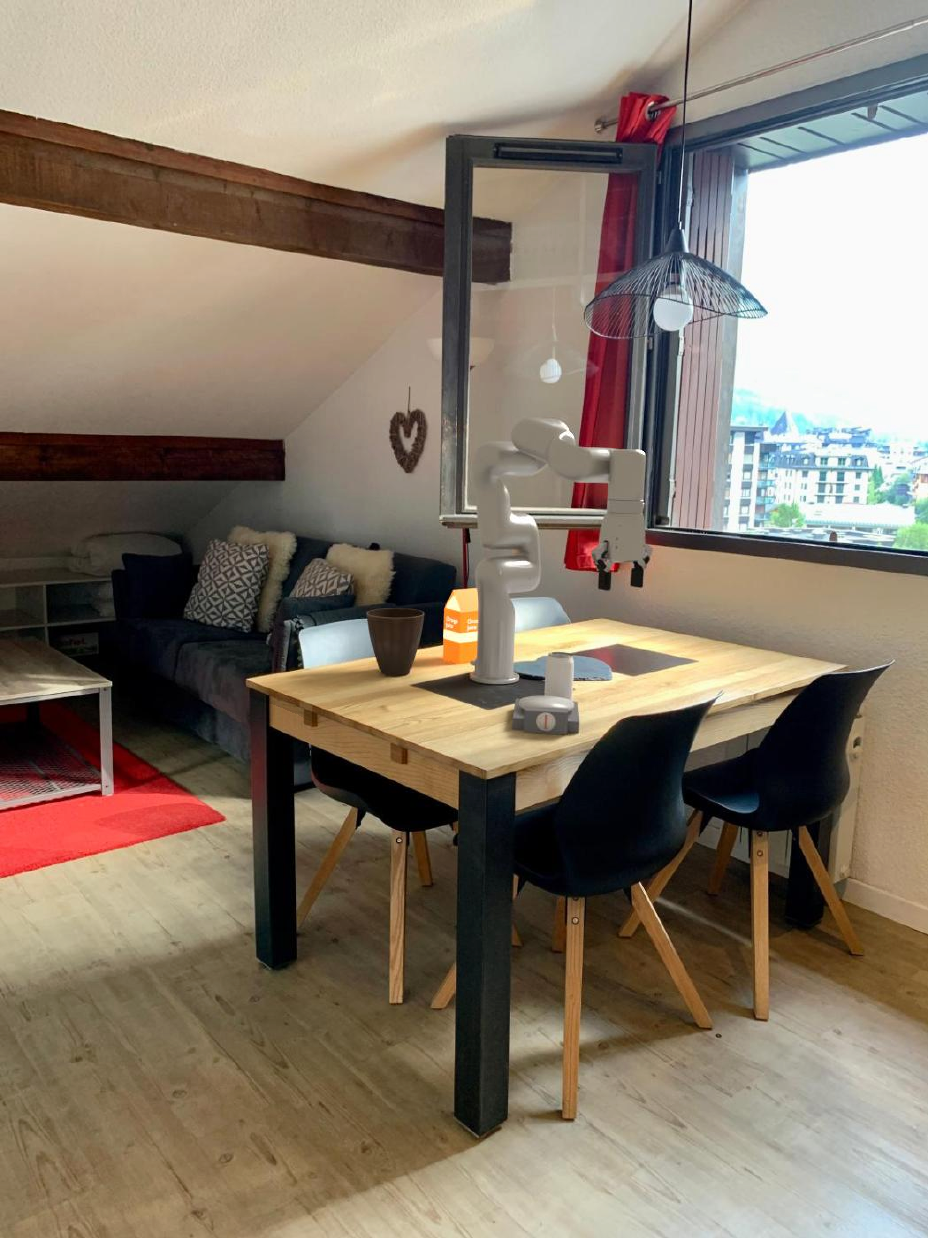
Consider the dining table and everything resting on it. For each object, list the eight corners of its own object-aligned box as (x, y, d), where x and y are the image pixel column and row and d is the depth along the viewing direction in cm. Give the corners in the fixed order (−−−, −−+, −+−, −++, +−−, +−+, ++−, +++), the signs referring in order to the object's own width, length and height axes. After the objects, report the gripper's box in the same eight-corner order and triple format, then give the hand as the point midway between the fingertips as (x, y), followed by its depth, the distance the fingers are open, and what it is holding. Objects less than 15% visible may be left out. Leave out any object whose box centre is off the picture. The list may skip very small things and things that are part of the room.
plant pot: (362, 678, 240) (362, 616, 237) (369, 665, 255) (370, 606, 252) (420, 681, 240) (422, 618, 237) (425, 667, 254) (426, 608, 252)
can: (569, 701, 225) (572, 651, 222) (573, 708, 218) (576, 657, 216) (542, 700, 224) (544, 651, 222) (545, 708, 218) (548, 657, 216)
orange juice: (442, 659, 265) (444, 588, 262) (467, 655, 271) (469, 586, 267) (459, 664, 259) (461, 592, 256) (484, 660, 264) (486, 589, 261)
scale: (515, 708, 217) (516, 688, 216) (576, 712, 215) (578, 691, 214) (511, 732, 198) (512, 710, 198) (579, 736, 197) (580, 713, 196)
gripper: (640, 506, 209) (636, 583, 212) (582, 507, 199) (578, 588, 202) (666, 509, 203) (661, 588, 206) (608, 510, 193) (603, 593, 196)
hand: (620, 588), depth 204 cm, fingers open, 9 cm apart
